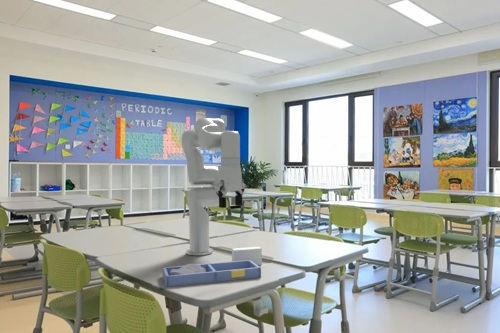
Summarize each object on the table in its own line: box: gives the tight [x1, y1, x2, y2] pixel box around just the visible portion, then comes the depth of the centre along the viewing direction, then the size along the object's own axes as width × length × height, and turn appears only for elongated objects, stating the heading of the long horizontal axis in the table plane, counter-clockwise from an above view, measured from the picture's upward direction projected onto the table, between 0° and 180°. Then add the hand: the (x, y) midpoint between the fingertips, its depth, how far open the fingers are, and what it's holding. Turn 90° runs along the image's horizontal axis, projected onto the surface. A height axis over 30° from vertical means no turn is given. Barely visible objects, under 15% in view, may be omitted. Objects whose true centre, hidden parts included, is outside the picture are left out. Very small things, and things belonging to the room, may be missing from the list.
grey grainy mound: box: [169, 263, 206, 276], centre depth 143 cm, size 12×5×10 cm
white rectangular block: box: [231, 246, 263, 266], centre depth 164 cm, size 4×12×7 cm, turn 108°
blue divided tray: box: [162, 260, 262, 287], centre depth 146 cm, size 13×35×4 cm, turn 108°
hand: (230, 206), depth 151 cm, fingers open, 9 cm apart
